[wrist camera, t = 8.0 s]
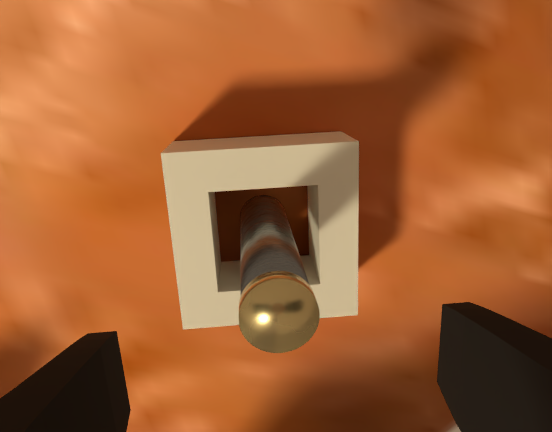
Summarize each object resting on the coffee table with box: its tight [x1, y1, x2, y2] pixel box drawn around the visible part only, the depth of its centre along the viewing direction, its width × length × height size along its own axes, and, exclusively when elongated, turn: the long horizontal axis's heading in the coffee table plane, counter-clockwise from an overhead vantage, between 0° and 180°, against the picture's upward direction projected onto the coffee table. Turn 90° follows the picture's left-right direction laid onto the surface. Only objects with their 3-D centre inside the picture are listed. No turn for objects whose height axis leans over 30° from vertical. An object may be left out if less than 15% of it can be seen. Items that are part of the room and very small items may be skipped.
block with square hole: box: [161, 131, 359, 329], centre depth 18 cm, size 7×7×3 cm
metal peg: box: [239, 195, 320, 353], centre depth 16 cm, size 2×2×9 cm
